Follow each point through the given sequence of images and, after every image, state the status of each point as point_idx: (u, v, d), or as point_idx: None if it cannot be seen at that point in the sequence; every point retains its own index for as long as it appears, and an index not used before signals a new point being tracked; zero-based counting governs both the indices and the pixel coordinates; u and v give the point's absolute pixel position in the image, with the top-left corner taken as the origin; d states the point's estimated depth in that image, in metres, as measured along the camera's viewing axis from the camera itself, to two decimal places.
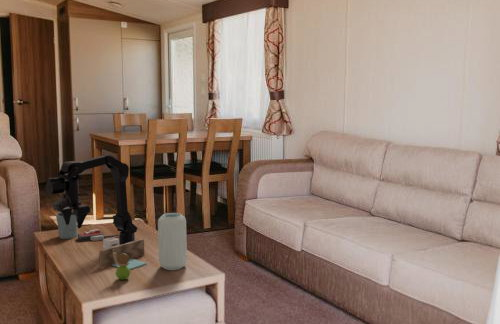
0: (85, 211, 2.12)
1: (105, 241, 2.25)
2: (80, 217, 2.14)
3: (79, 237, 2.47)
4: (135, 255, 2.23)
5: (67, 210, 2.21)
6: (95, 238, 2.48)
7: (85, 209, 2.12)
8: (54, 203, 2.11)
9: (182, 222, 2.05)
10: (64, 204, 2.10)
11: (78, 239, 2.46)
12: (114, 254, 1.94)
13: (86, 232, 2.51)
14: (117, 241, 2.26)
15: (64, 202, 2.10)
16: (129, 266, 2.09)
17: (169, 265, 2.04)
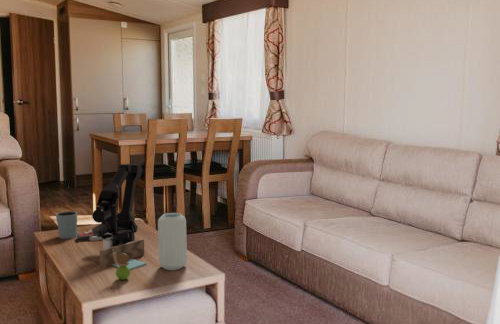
0: (124, 237, 2.20)
1: (105, 241, 2.25)
2: (116, 241, 2.24)
3: (78, 237, 2.47)
4: (135, 255, 2.23)
5: (107, 235, 2.28)
6: (94, 238, 2.48)
7: (124, 235, 2.20)
8: (94, 229, 2.20)
9: (182, 222, 2.05)
10: (104, 230, 2.18)
11: (77, 239, 2.46)
12: (114, 254, 1.94)
13: None
14: None
15: (104, 228, 2.18)
16: (129, 266, 2.09)
17: (169, 265, 2.04)
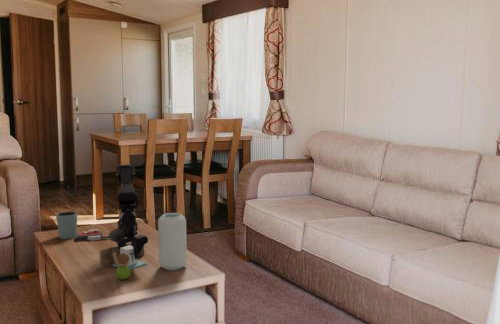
0: (143, 242, 2.05)
1: (122, 250, 2.10)
2: (137, 248, 2.08)
3: (77, 236, 2.48)
4: None
5: (122, 240, 2.15)
6: (92, 238, 2.48)
7: (143, 240, 2.05)
8: (111, 234, 2.05)
9: (182, 222, 2.05)
10: (122, 235, 2.03)
11: (75, 238, 2.47)
12: (114, 254, 1.94)
13: (85, 232, 2.52)
14: None
15: (122, 233, 2.03)
16: (129, 266, 2.09)
17: (169, 265, 2.04)
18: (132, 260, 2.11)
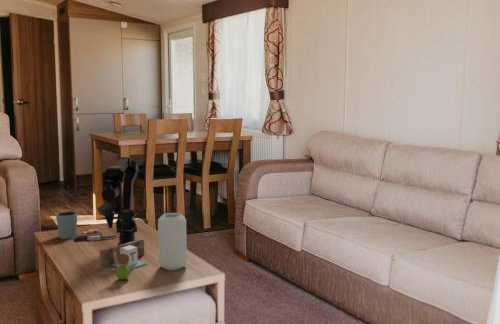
0: (130, 215, 2.17)
1: (122, 250, 2.10)
2: (125, 221, 2.20)
3: None
4: None
5: (110, 214, 2.26)
6: (91, 238, 2.48)
7: (130, 214, 2.17)
8: (100, 208, 2.16)
9: (182, 222, 2.05)
10: (110, 209, 2.15)
11: (75, 238, 2.47)
12: (114, 254, 1.94)
13: (84, 232, 2.52)
14: (135, 250, 2.11)
15: (110, 207, 2.15)
16: (129, 266, 2.09)
17: (169, 265, 2.04)
18: (132, 260, 2.11)
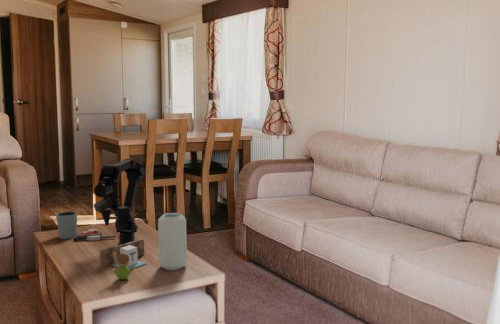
0: (125, 212, 2.21)
1: (122, 250, 2.10)
2: (120, 218, 2.23)
3: (76, 236, 2.48)
4: None
5: (106, 211, 2.30)
6: (91, 238, 2.47)
7: (125, 210, 2.21)
8: (96, 204, 2.20)
9: (182, 222, 2.05)
10: (106, 205, 2.19)
11: (74, 238, 2.47)
12: (114, 254, 1.94)
13: None
14: (135, 250, 2.11)
15: (106, 203, 2.19)
16: (129, 266, 2.09)
17: (169, 265, 2.04)
18: (132, 260, 2.11)
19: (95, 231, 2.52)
